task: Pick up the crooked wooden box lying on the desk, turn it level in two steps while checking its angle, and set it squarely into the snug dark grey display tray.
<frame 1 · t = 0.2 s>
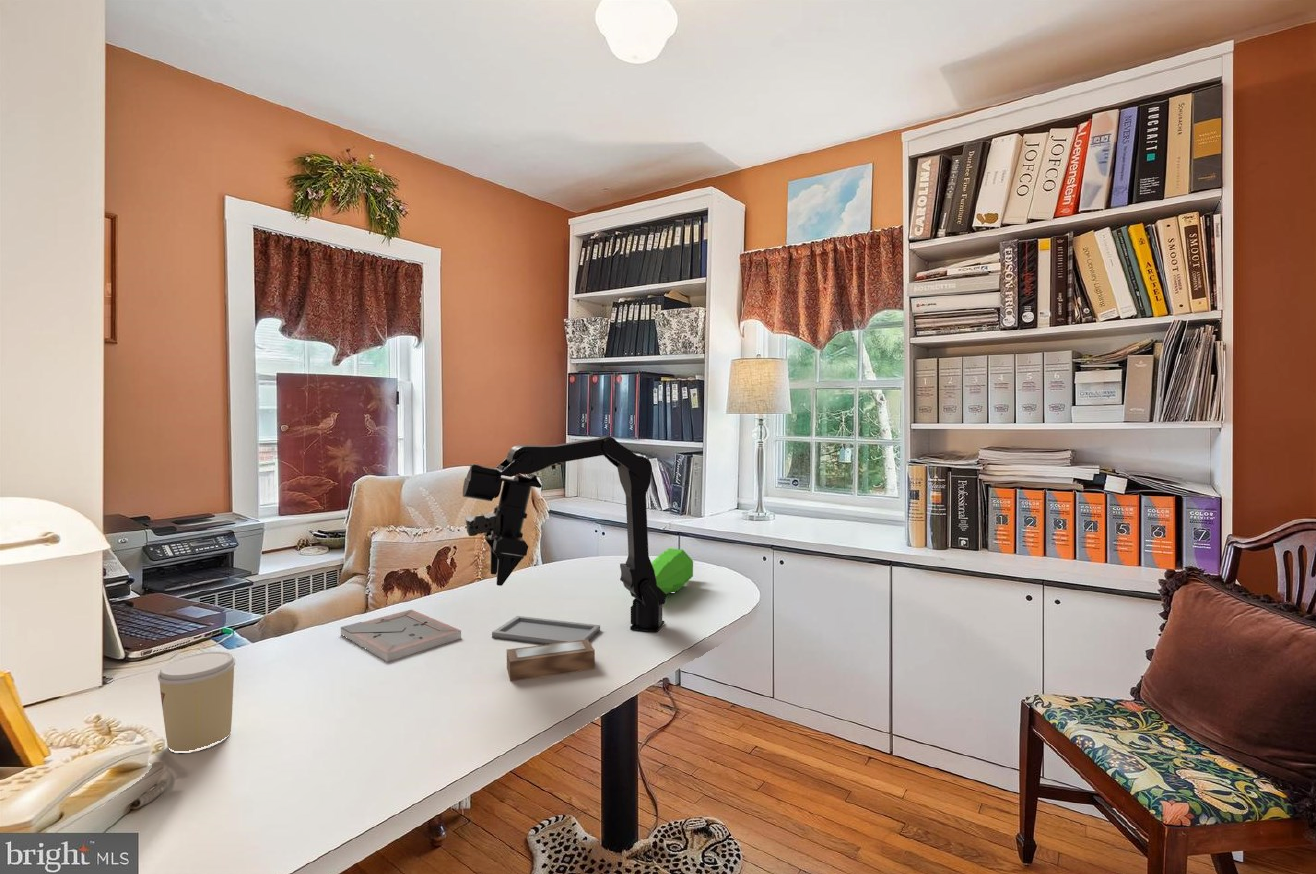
hand: (496, 579, 127), 15 cm above the table, tool pointing down, fingers open, 9 cm apart
wooden box: (550, 670, 119), on the table
green faceted polyhedron: (664, 594, 167), on the table
coffee cup: (200, 741, 94), on the table
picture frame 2: (400, 640, 136), on the table
display tray: (546, 634, 137), on the table
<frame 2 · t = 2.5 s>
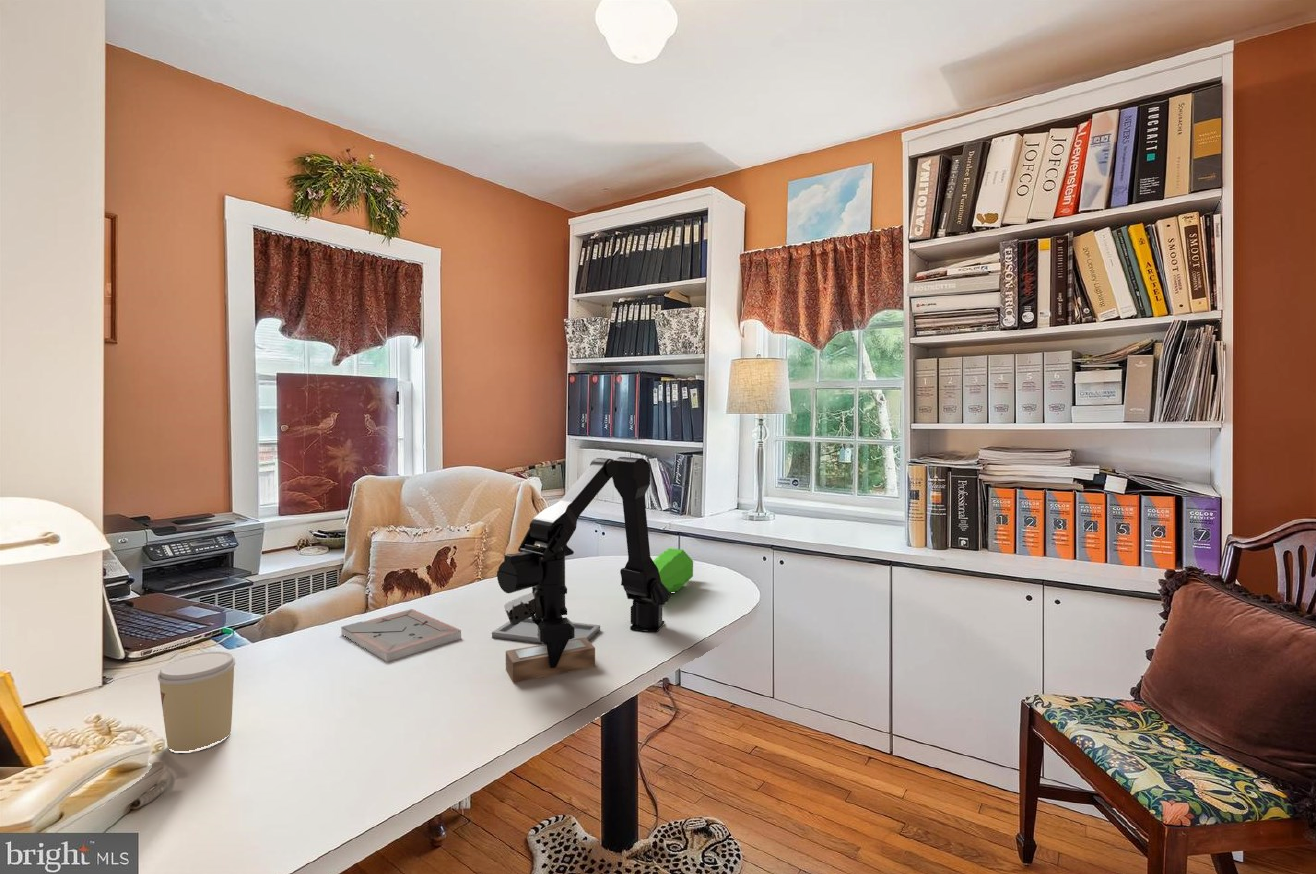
hand: (550, 660, 119), 2 cm above the table, tool pointing down, fingers closed on wooden box, 6 cm apart
wooden box: (550, 669, 119), on the table, touching gripper
everything else where it was.
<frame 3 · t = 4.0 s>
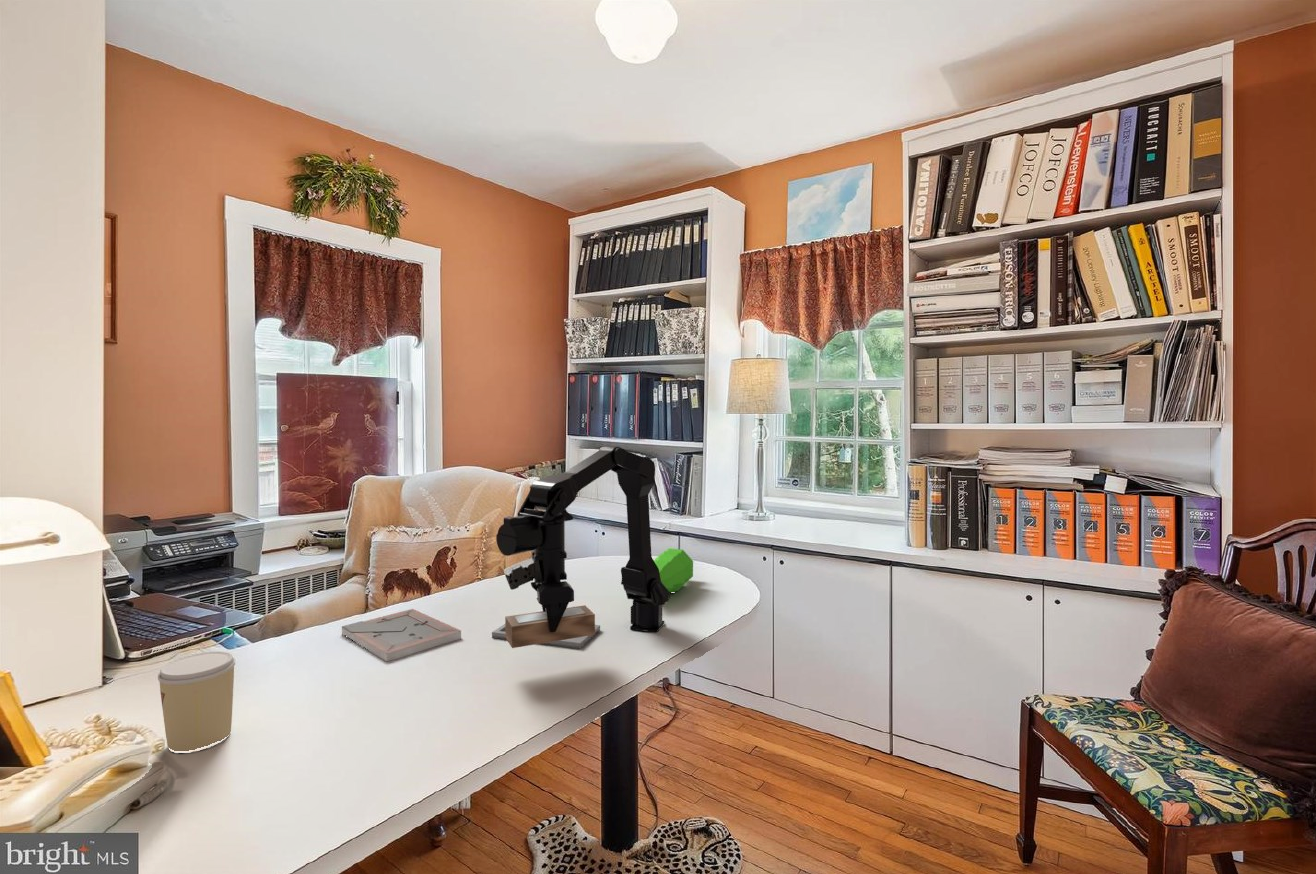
hand: (550, 626, 119), 8 cm above the table, tool pointing down, fingers closed on wooden box, 6 cm apart
wooden box: (550, 635, 119), point 6 cm above the table, touching gripper
everything else where it was.
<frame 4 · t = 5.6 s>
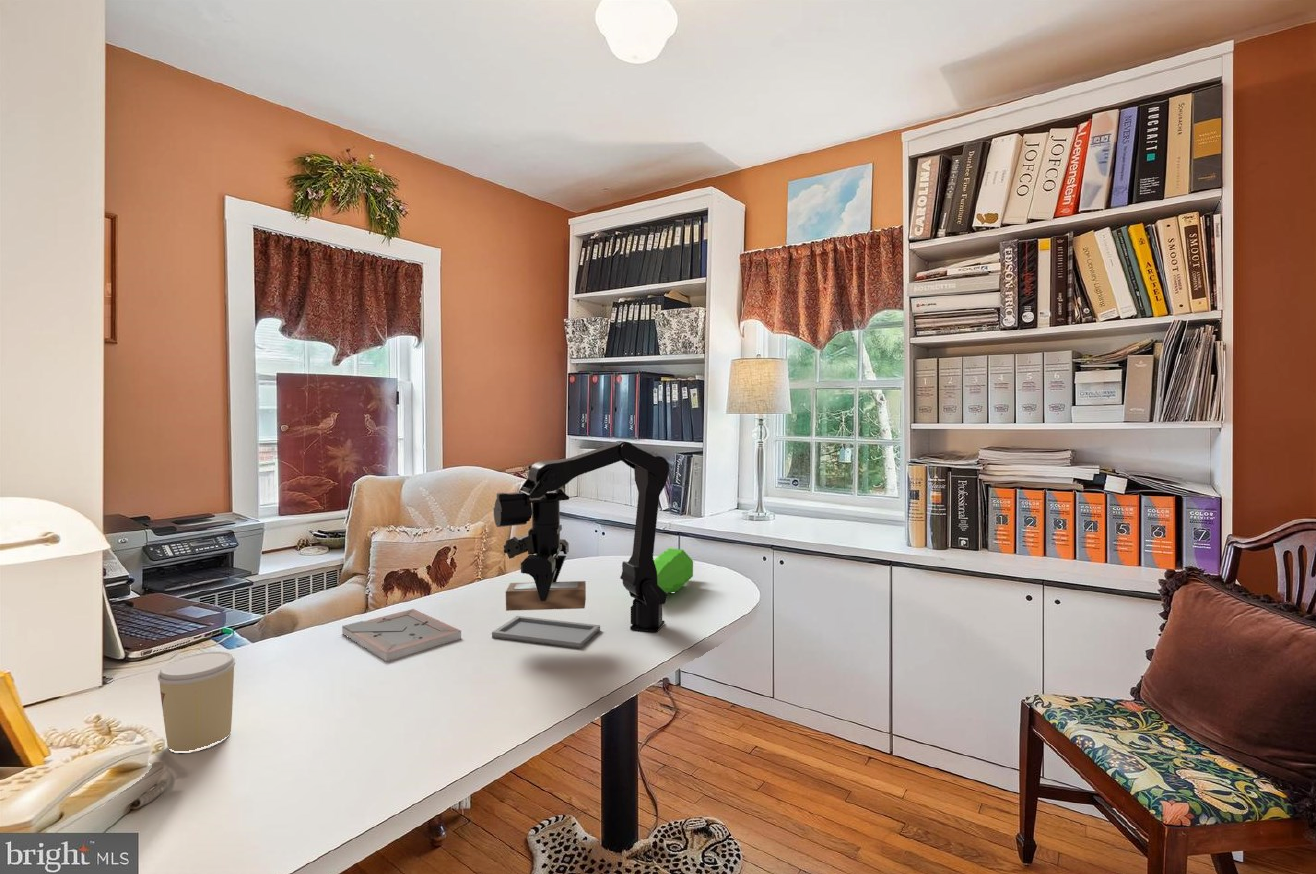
hand: (546, 595, 130), 11 cm above the table, tool pointing down, fingers closed on wooden box, 6 cm apart
wooden box: (546, 604, 130), point 9 cm above the table, touching gripper
everything else where it was.
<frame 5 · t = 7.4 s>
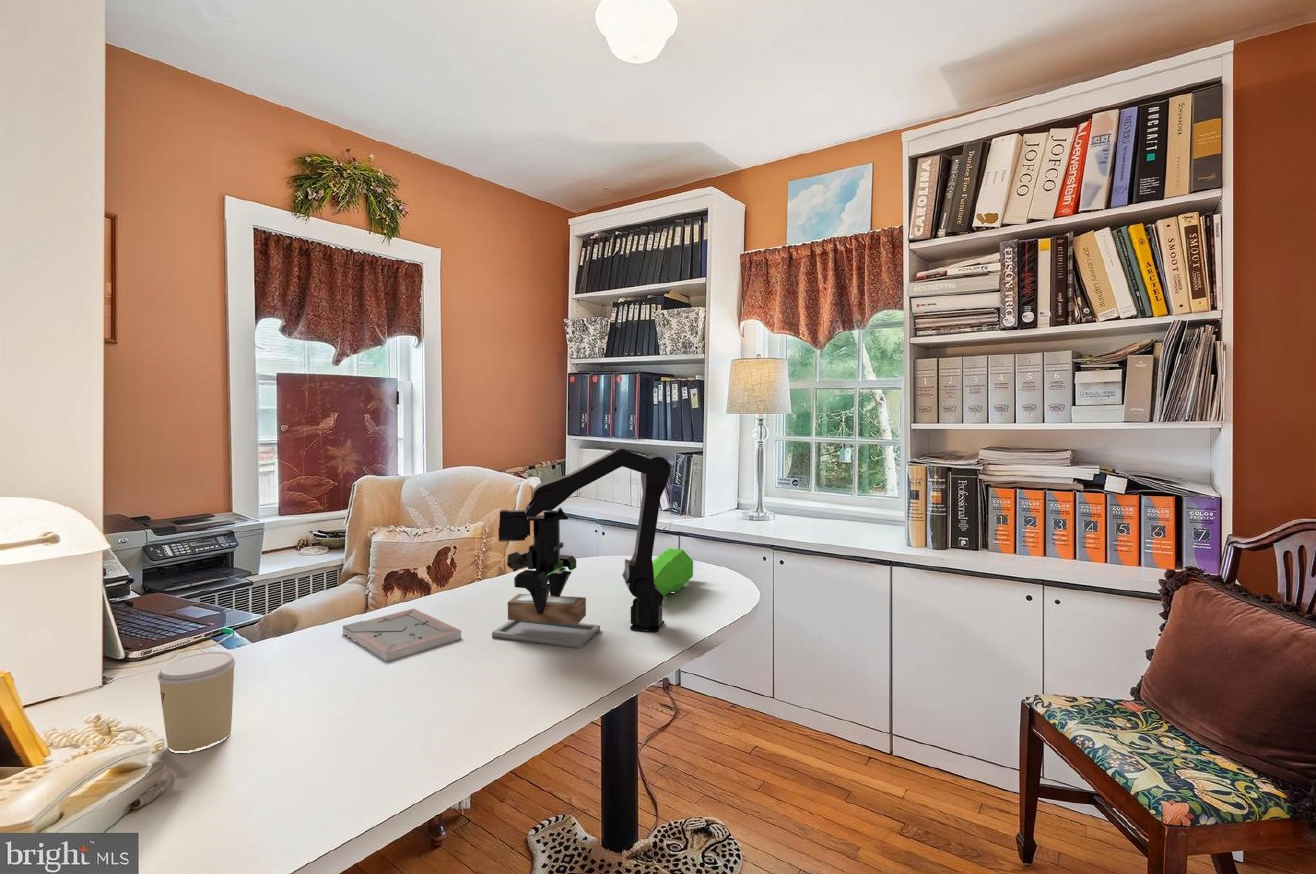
hand: (547, 609, 137), 6 cm above the table, tool pointing down, fingers closed on wooden box, 6 cm apart
wooden box: (547, 617, 137), point 4 cm above the table, touching gripper
everything else where it was.
when the fingers open (3 cm above the table, at t = 8.8 s): wooden box stays where it is, resting on display tray.
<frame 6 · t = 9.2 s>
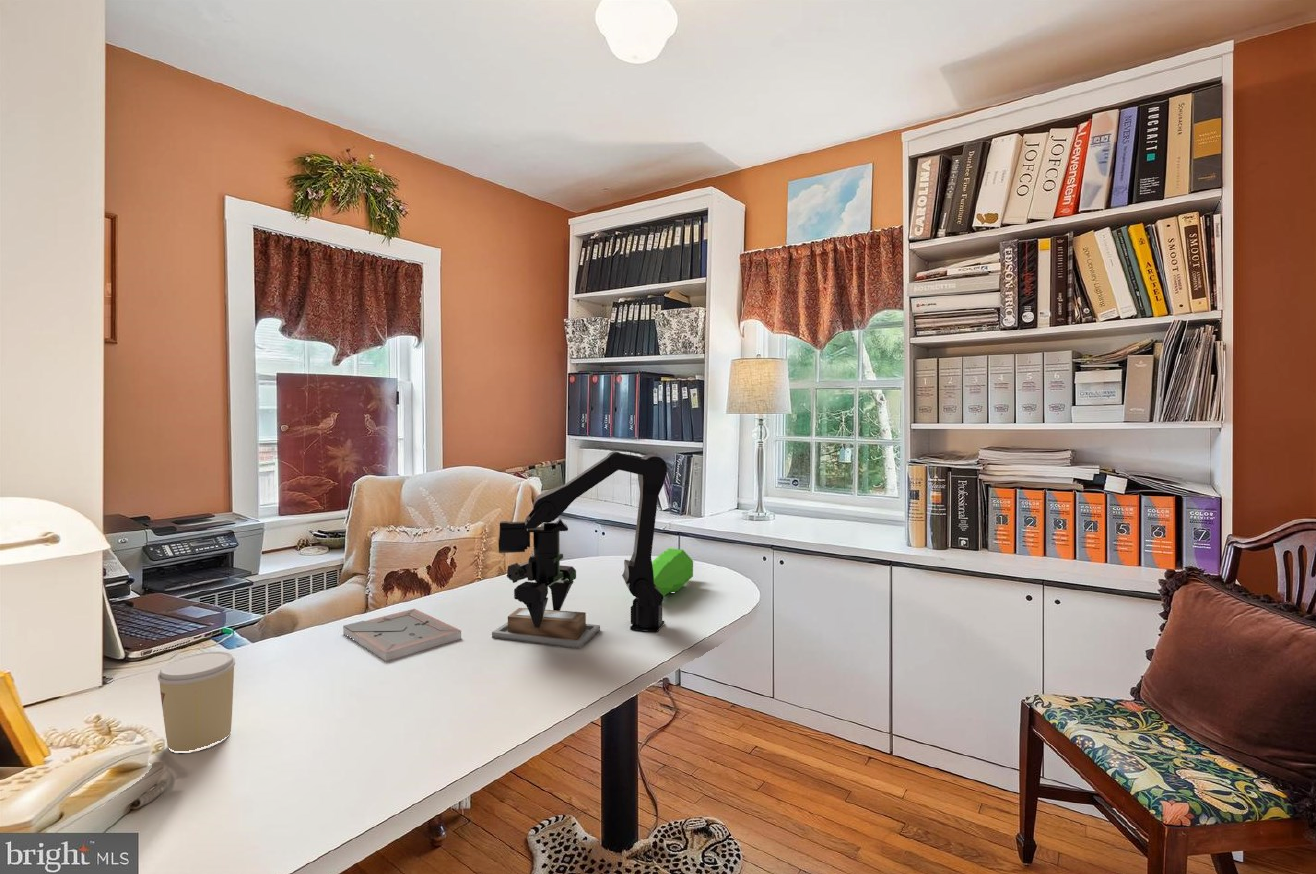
hand: (547, 620, 137), 3 cm above the table, tool pointing down, fingers open, 9 cm apart
wooden box: (547, 632, 137), resting on display tray
everything else where it was.
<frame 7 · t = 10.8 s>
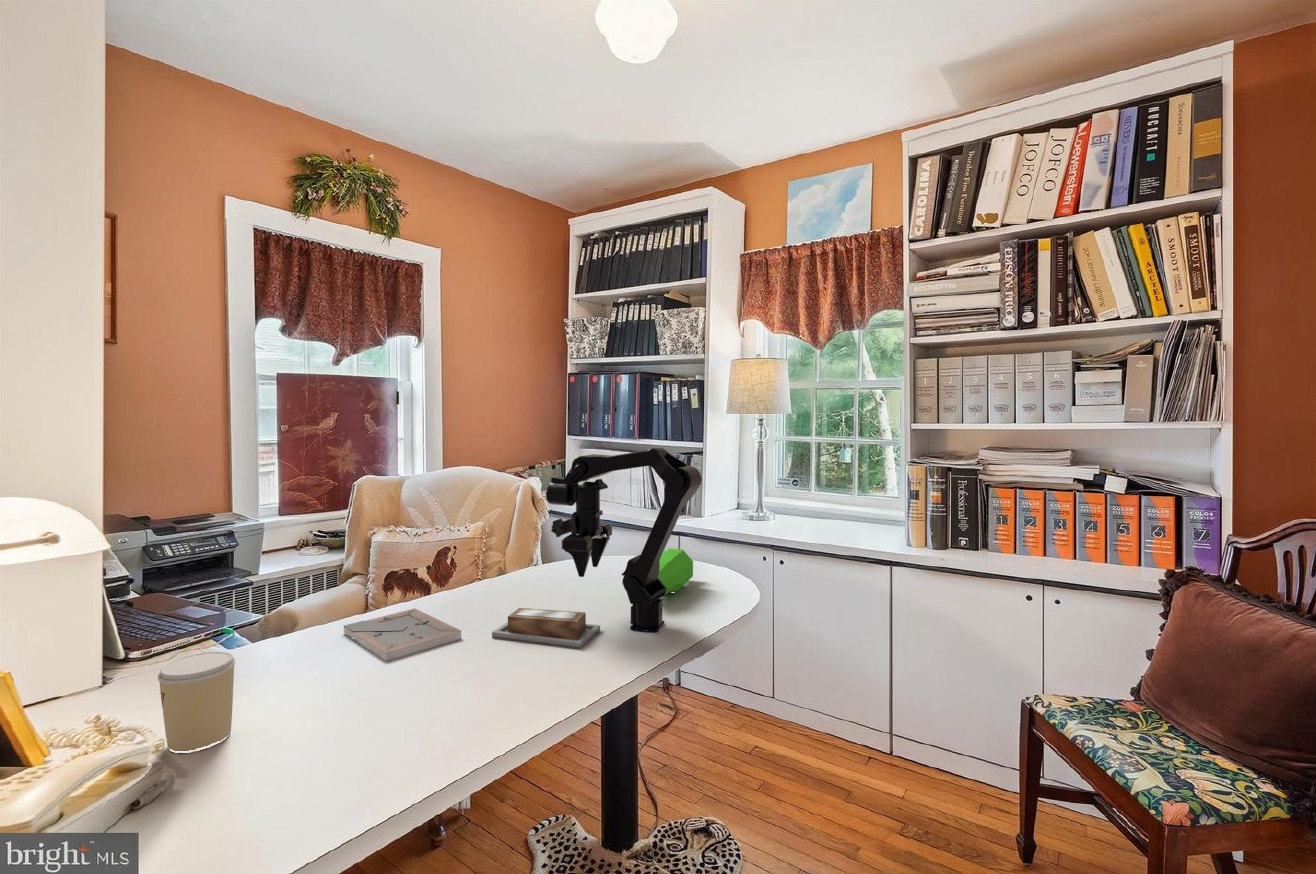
hand: (588, 571, 148), 11 cm above the table, tool pointing down, fingers open, 9 cm apart
nothing on the table moved.
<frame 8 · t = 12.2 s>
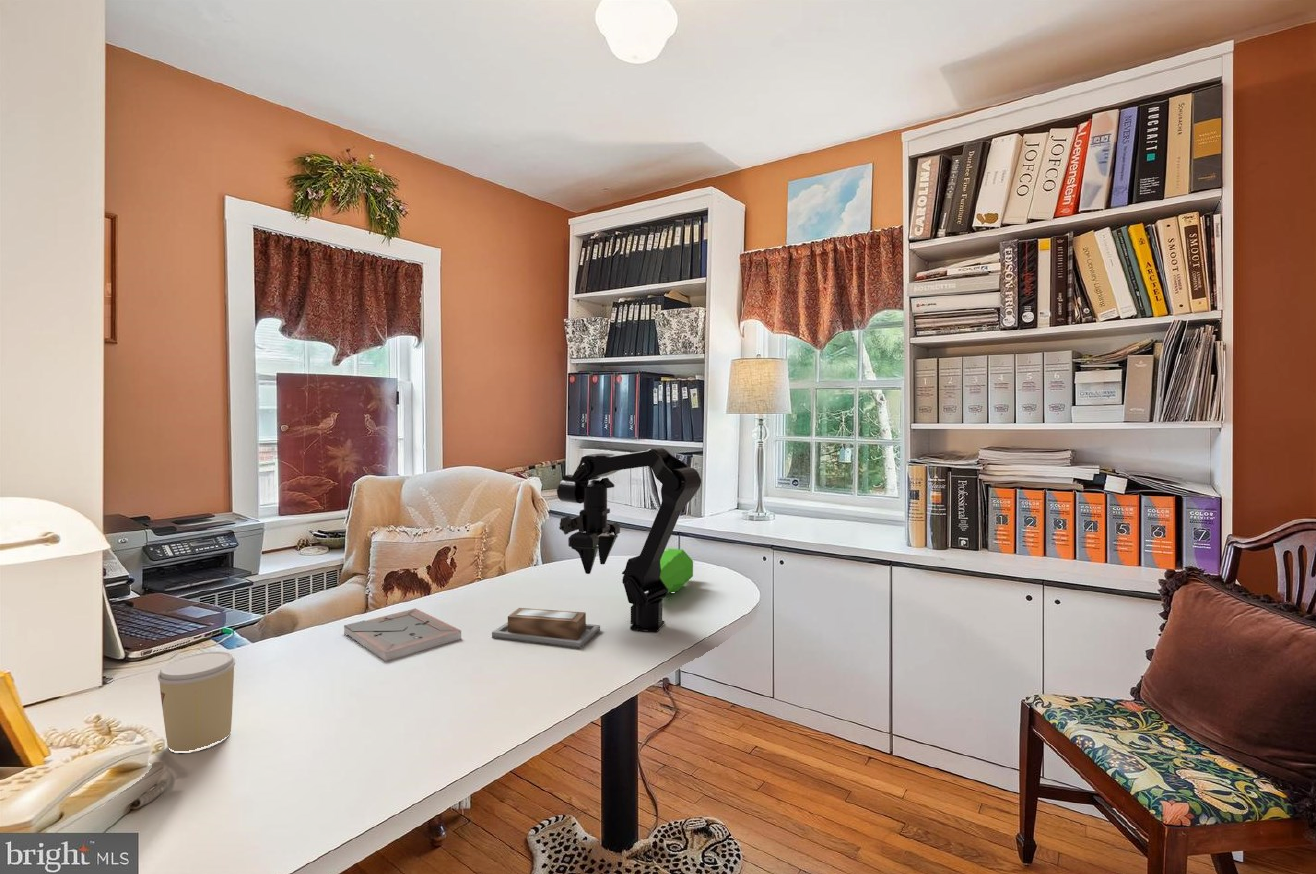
hand: (595, 568, 151), 11 cm above the table, tool pointing down, fingers open, 9 cm apart
nothing on the table moved.
at the end: wooden box 0.0 cm off-centre on the display tray, point 0.4 cm above the display tray's base; wooden box tilted 0°; the gripper is holding nothing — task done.
